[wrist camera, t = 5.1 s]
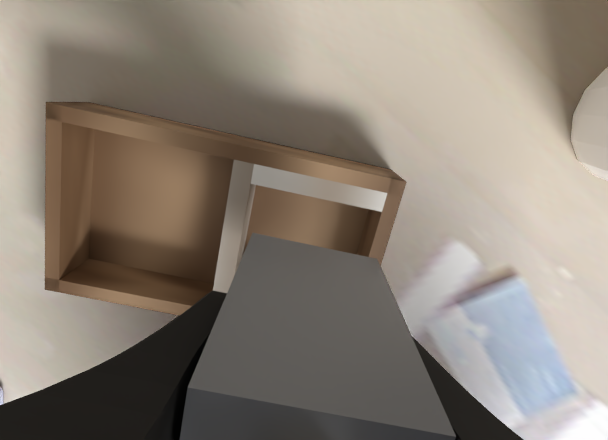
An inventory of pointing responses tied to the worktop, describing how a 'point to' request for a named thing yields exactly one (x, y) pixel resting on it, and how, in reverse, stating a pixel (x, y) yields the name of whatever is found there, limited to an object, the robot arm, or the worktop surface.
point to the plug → (310, 355)
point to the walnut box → (190, 205)
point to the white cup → (592, 127)
